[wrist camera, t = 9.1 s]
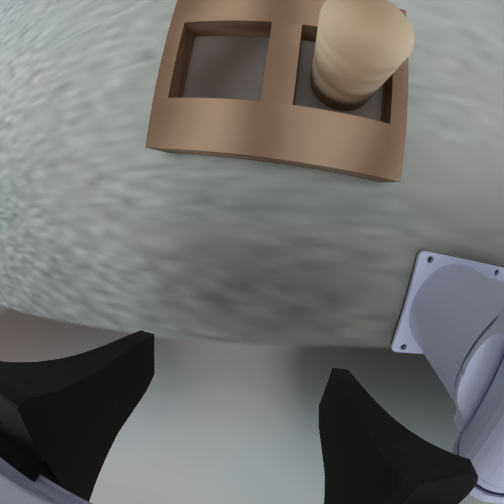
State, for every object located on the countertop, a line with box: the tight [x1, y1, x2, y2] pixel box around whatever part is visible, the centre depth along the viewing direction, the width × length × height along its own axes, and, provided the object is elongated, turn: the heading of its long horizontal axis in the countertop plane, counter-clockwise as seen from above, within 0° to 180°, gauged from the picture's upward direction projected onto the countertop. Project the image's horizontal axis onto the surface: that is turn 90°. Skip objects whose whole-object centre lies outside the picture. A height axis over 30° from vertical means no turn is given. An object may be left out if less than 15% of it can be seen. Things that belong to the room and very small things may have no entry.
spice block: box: [146, 0, 408, 182], centre depth 16 cm, size 15×12×4 cm
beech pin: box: [310, 0, 415, 111], centre depth 12 cm, size 4×4×8 cm
